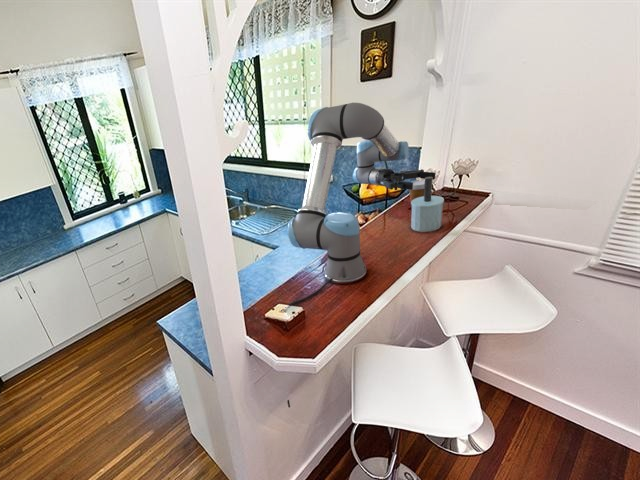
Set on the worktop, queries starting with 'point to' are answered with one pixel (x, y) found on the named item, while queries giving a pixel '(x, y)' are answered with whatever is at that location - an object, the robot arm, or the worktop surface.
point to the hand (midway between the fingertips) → (423, 181)
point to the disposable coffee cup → (417, 190)
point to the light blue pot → (426, 218)
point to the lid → (427, 196)
